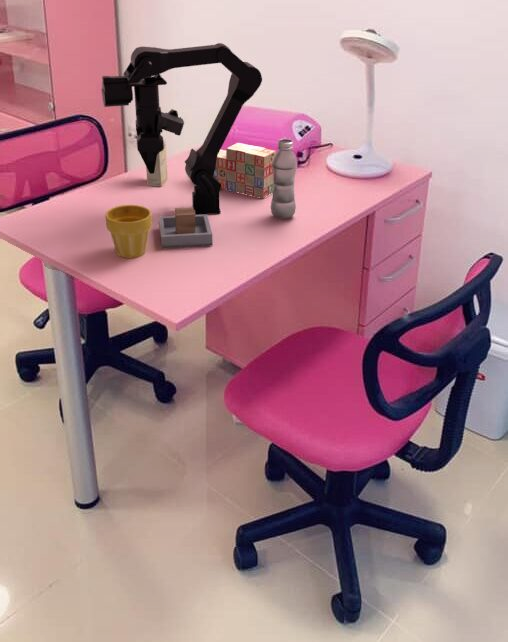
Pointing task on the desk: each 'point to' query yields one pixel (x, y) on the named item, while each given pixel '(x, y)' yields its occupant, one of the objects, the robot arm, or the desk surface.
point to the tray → (185, 240)
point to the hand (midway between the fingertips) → (151, 167)
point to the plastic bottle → (284, 180)
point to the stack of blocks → (246, 169)
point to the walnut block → (185, 220)
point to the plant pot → (129, 229)
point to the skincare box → (159, 170)
